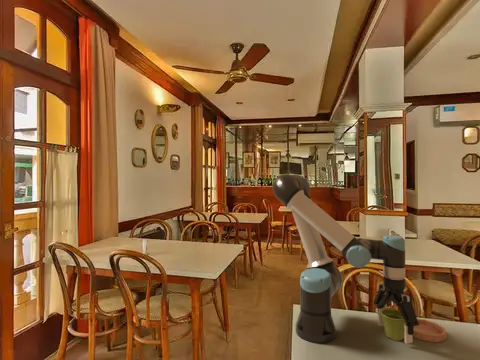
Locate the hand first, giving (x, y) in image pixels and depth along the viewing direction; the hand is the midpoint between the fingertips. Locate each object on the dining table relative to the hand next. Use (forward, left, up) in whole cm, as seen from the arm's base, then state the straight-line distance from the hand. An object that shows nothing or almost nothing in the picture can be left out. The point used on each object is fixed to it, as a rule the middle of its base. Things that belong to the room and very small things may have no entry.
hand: (394, 333), depth 111 cm
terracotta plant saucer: (+11, +8, -1) cm, 14 cm away
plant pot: (0, 0, -2) cm, 2 cm away
